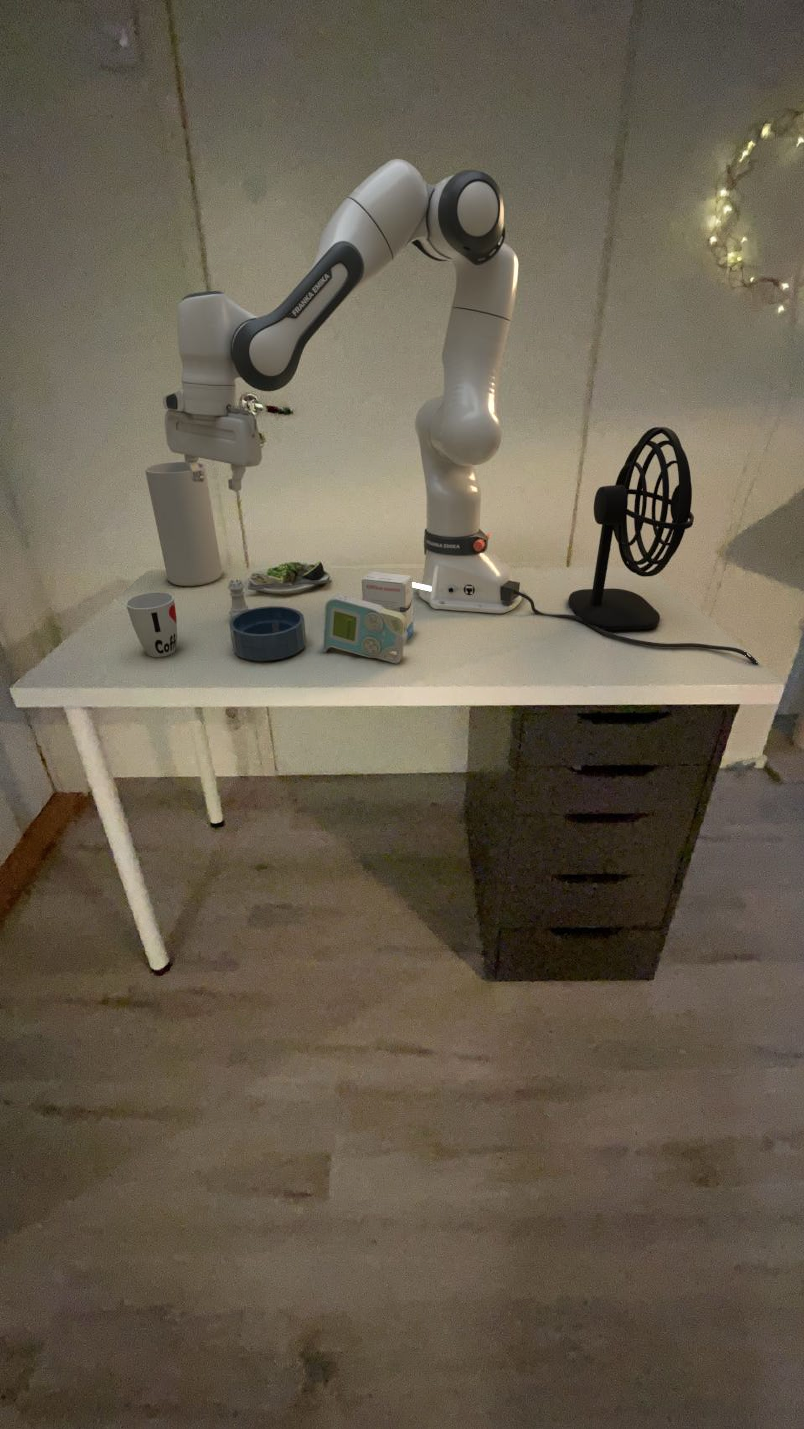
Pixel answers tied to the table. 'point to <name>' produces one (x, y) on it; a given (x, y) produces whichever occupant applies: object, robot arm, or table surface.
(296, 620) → the bowl
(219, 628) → the table surface
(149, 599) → the cup
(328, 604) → the handheld gaming console
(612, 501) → the desk fan
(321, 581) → the salad plate
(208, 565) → the cylinder vase
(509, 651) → the table surface
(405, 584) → the ink box
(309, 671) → the table surface
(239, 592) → the rook chess piece
